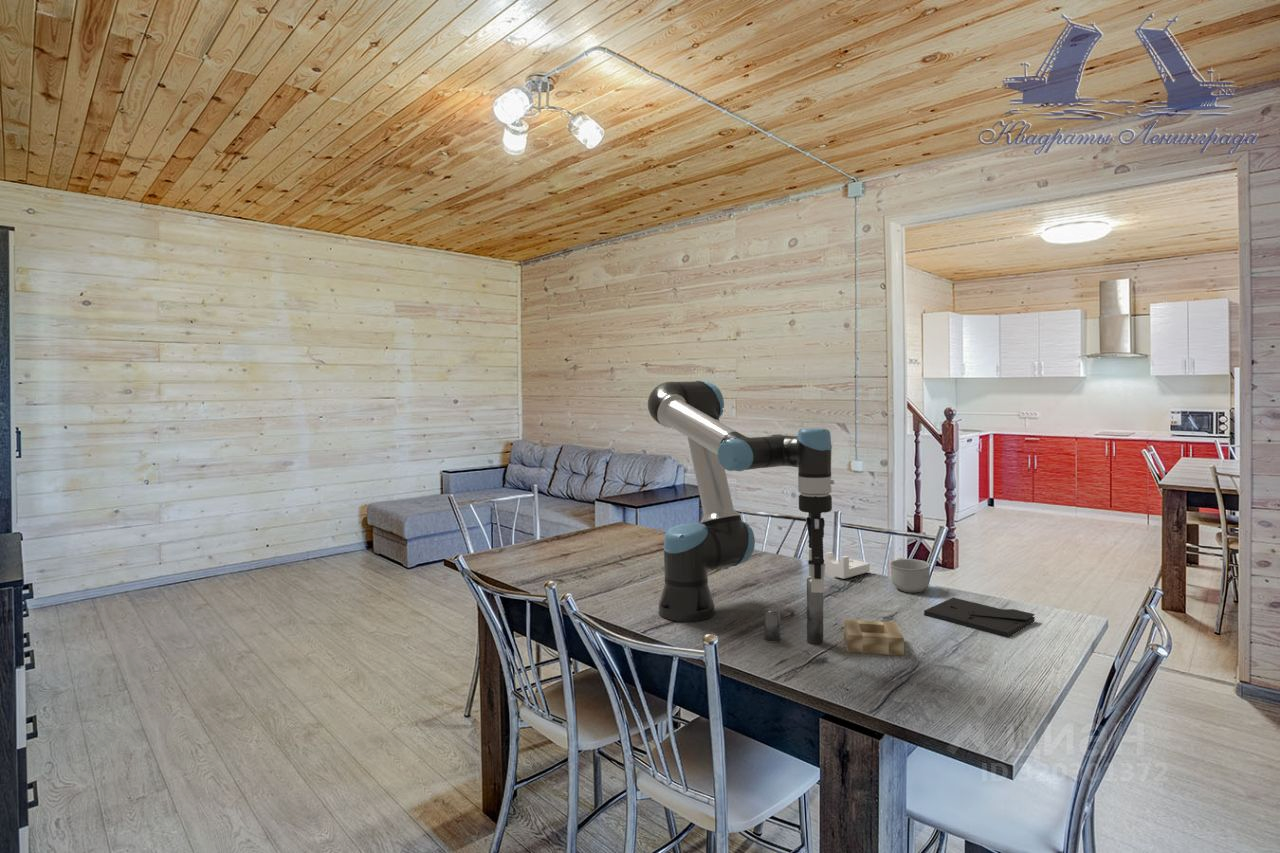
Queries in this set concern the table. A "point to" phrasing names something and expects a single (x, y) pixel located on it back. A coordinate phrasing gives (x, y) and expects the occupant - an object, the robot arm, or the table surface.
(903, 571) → the teacup
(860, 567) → the bracket
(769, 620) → the short pin
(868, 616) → the table surface
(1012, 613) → the picture frame
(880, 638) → the socket block
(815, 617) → the long pin
